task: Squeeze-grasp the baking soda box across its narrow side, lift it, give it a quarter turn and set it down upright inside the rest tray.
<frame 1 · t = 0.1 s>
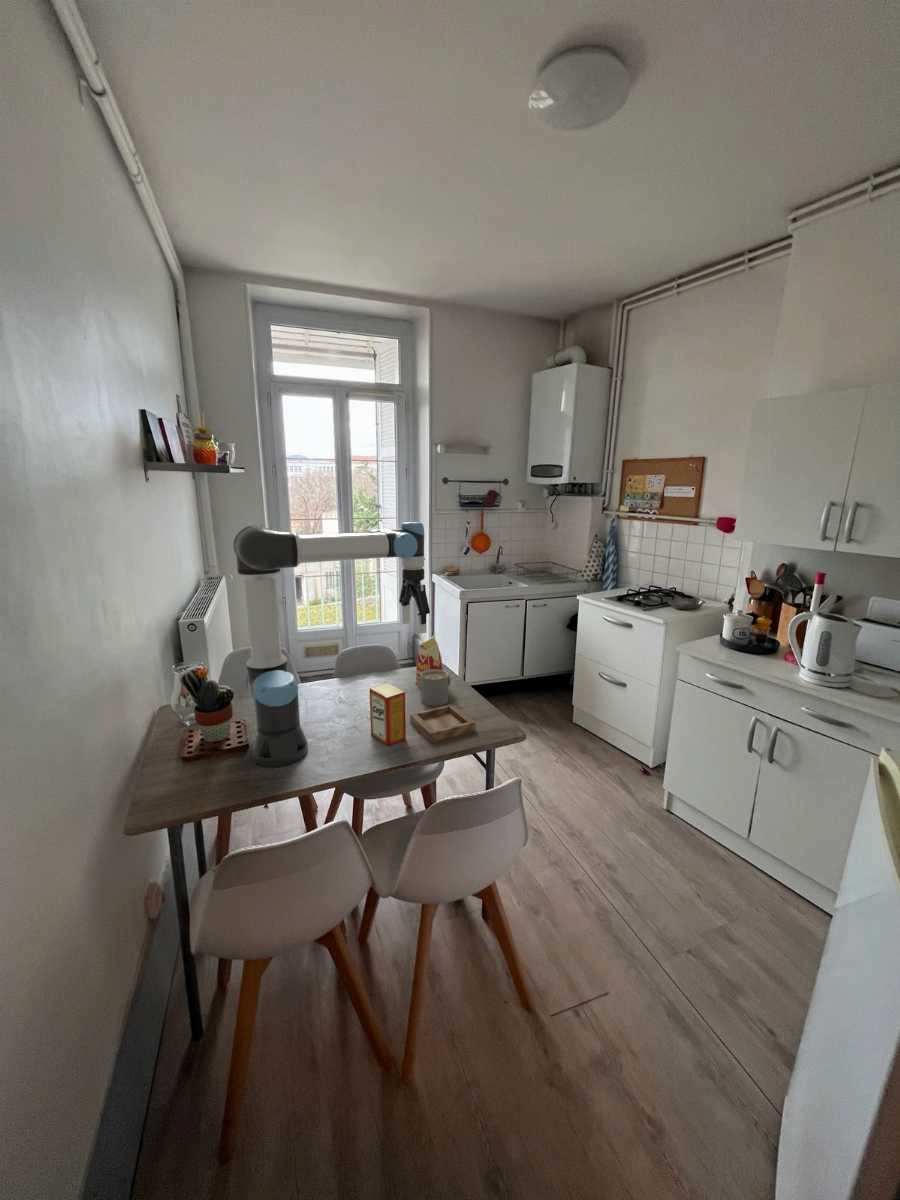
hand: (414, 628, 169), 28 cm above the table, fingers open, 13 cm apart
rest tray: (442, 726, 157), on the table
baking soda box: (388, 737, 150), on the table
coffee mug: (438, 699, 179), on the table
milk carton: (429, 685, 191), on the table
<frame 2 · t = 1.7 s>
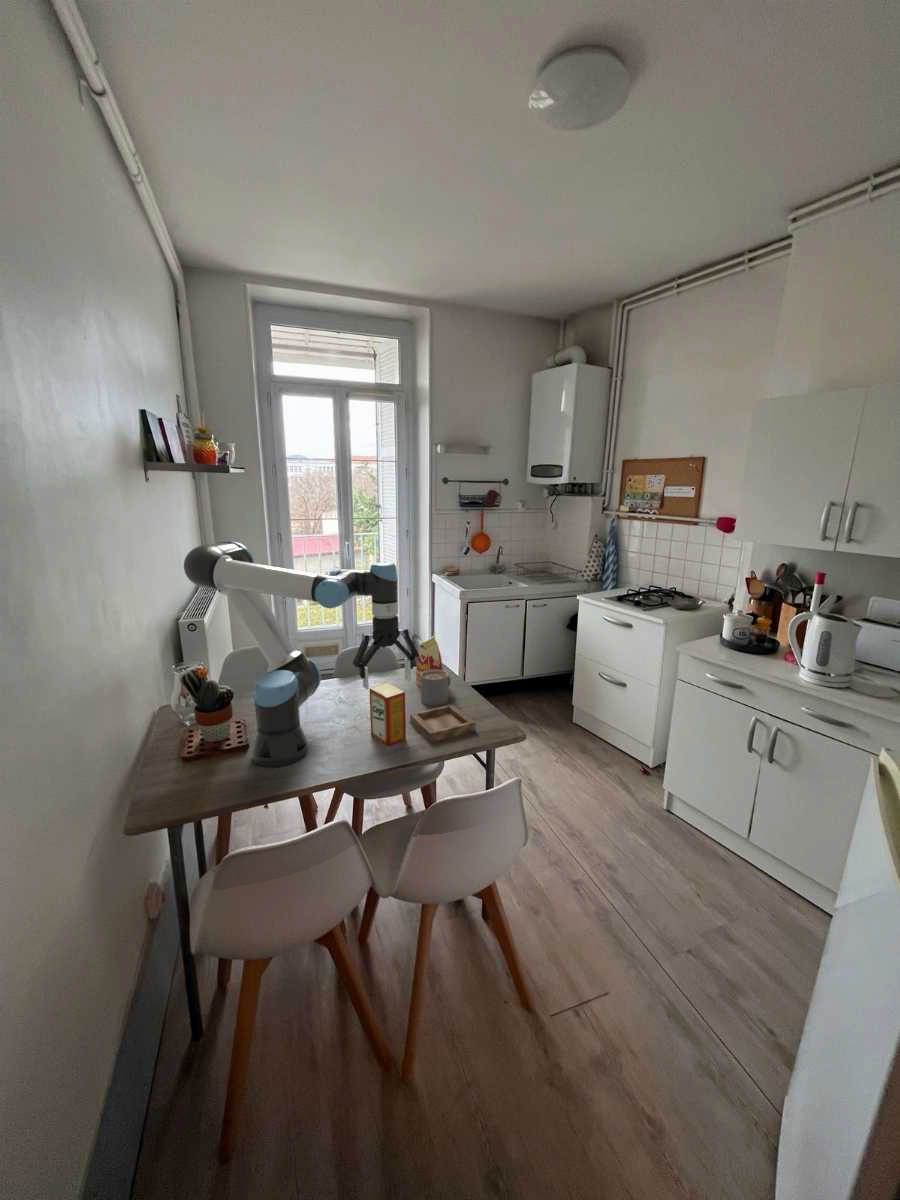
hand: (387, 683, 147), 18 cm above the table, fingers open, 13 cm apart
nothing on the table moved.
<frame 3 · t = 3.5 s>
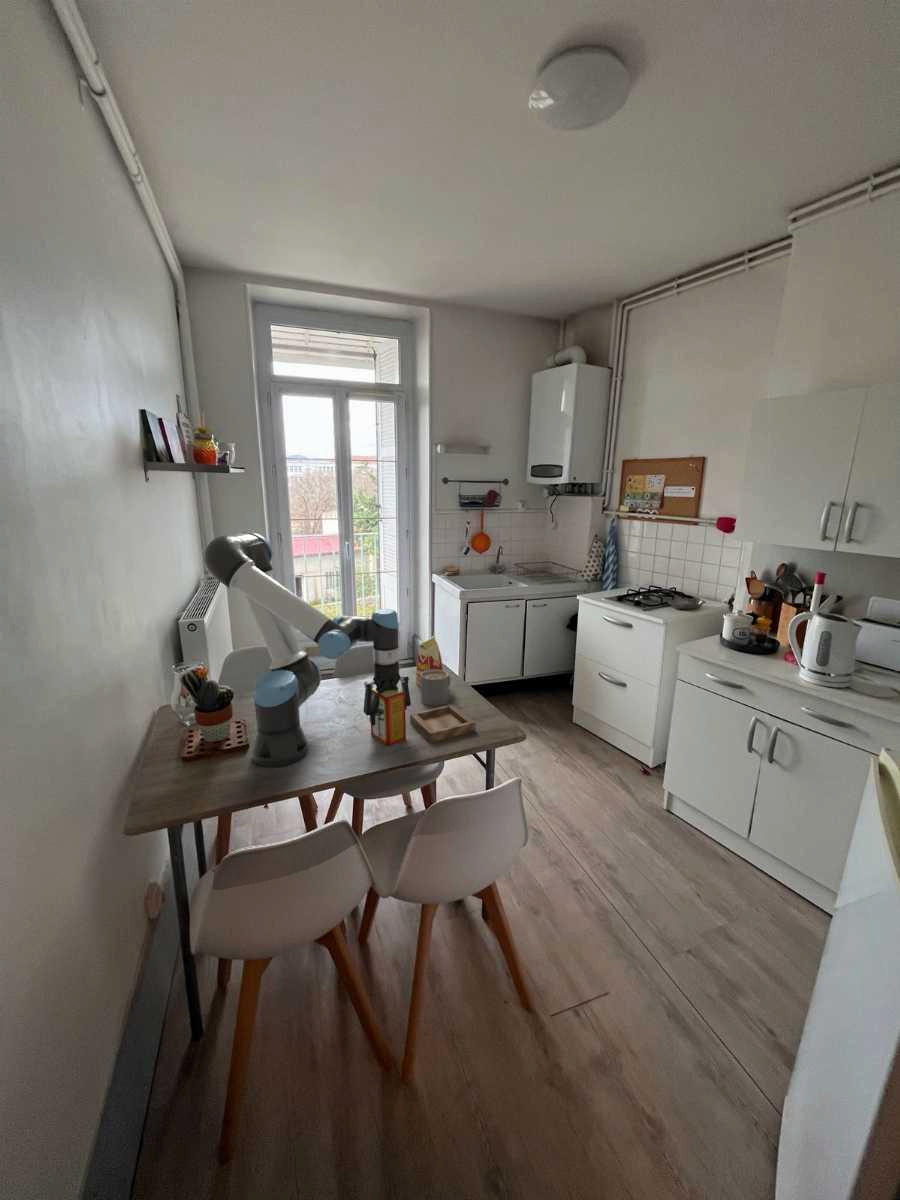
hand: (388, 730, 150), 2 cm above the table, fingers closed on baking soda box, 7 cm apart
baking soda box: (388, 737, 150), on the table, touching gripper
everything else where it was.
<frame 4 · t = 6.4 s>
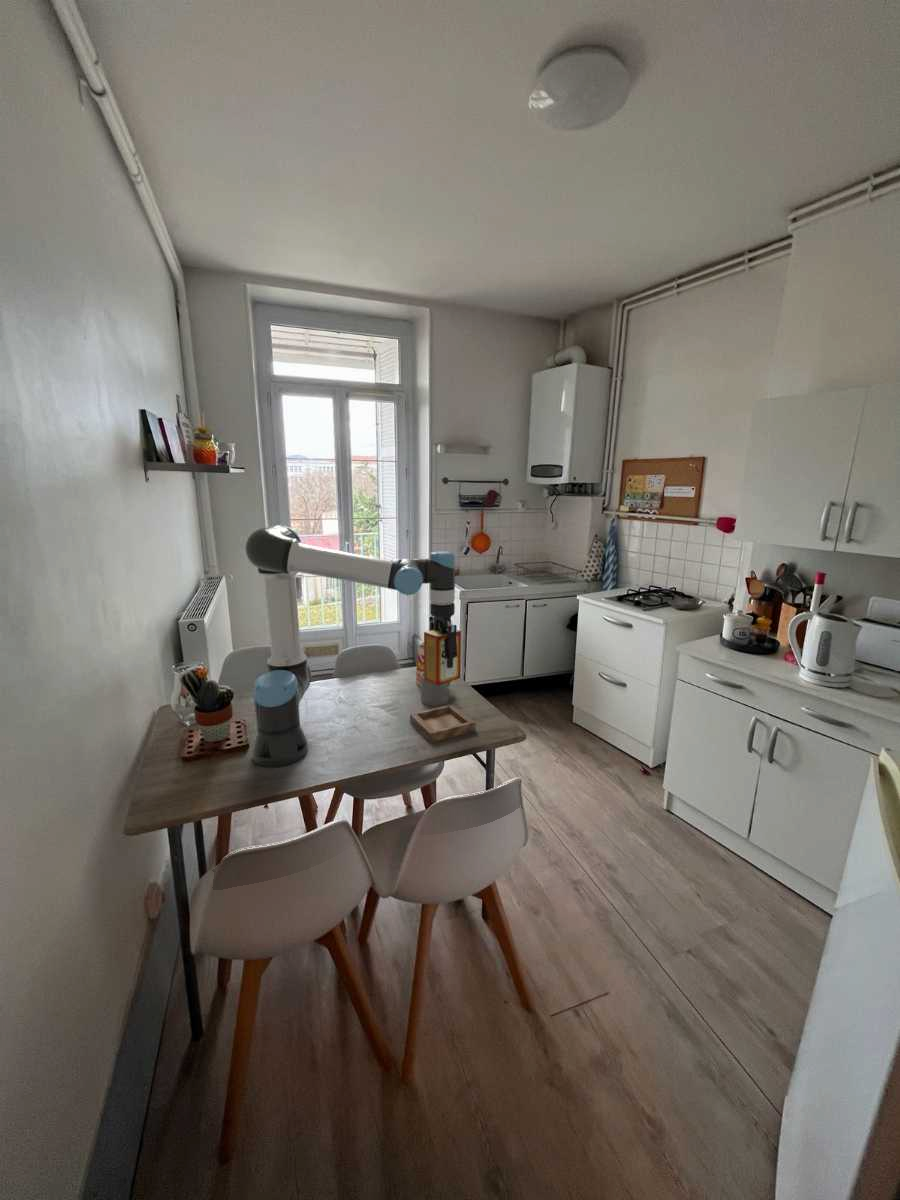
hand: (442, 672, 153), 19 cm above the table, fingers closed on baking soda box, 7 cm apart
baking soda box: (442, 679, 154), point 16 cm above the table, touching gripper
everything else where it was.
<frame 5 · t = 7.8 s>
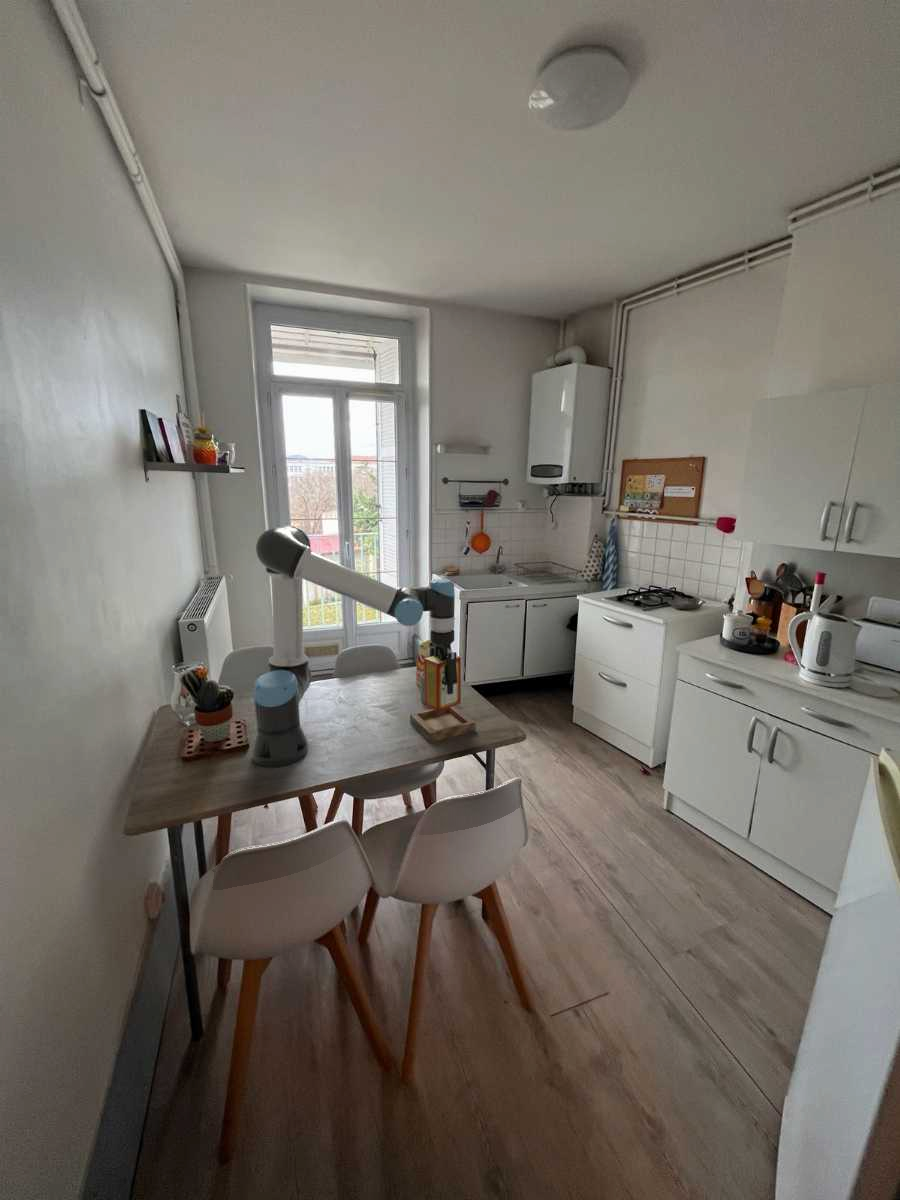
hand: (442, 697, 155), 10 cm above the table, fingers closed on baking soda box, 7 cm apart
baking soda box: (442, 704, 156), point 8 cm above the table, touching gripper
everything else where it was.
when the fingers open (5 cm above the table, at t = 9.2 s): baking soda box drops 2 cm, resting on rest tray.
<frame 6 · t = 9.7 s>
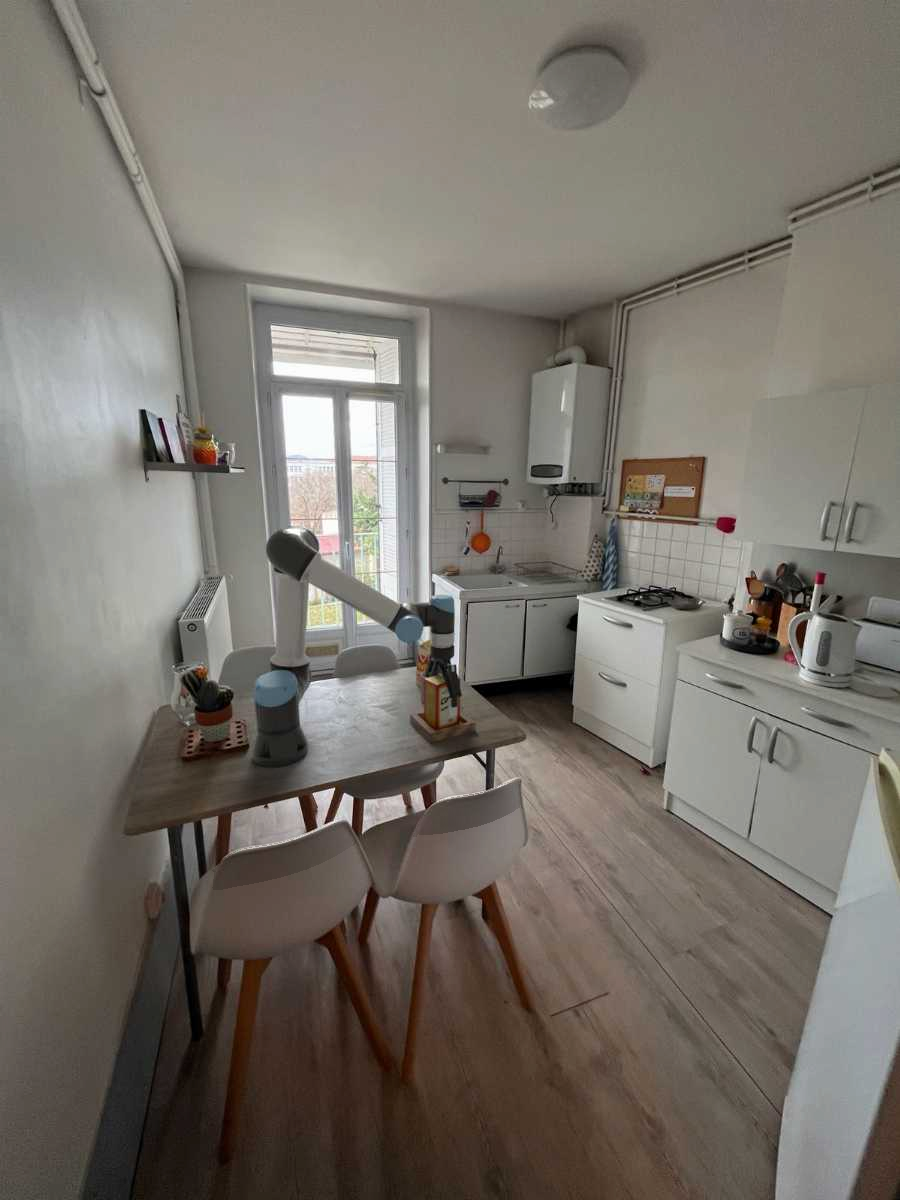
hand: (442, 707, 156), 7 cm above the table, fingers open, 13 cm apart
baking soda box: (442, 724, 157), point 1 cm above the table, touching rest tray
everything else where it was.
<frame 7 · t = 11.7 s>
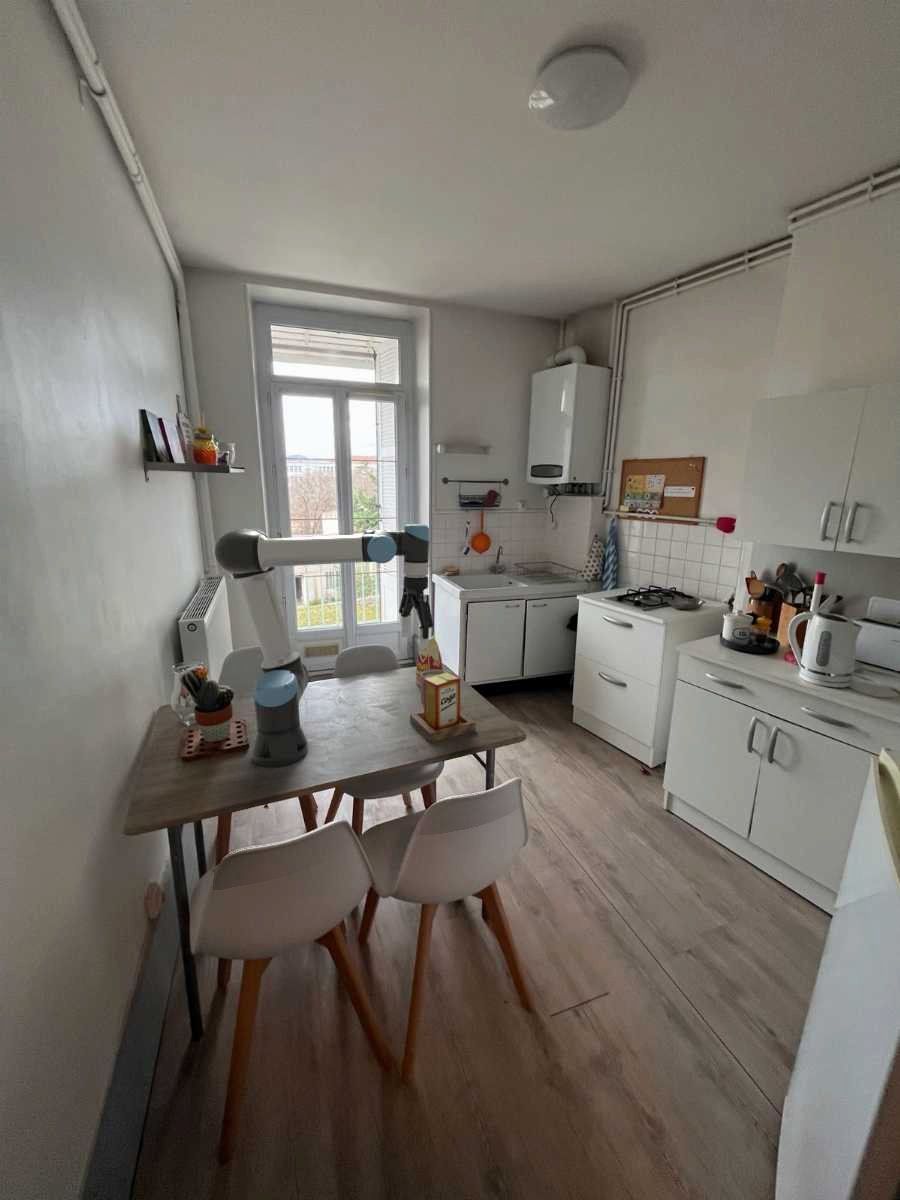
hand: (414, 642, 152), 28 cm above the table, fingers open, 13 cm apart
nothing on the table moved.
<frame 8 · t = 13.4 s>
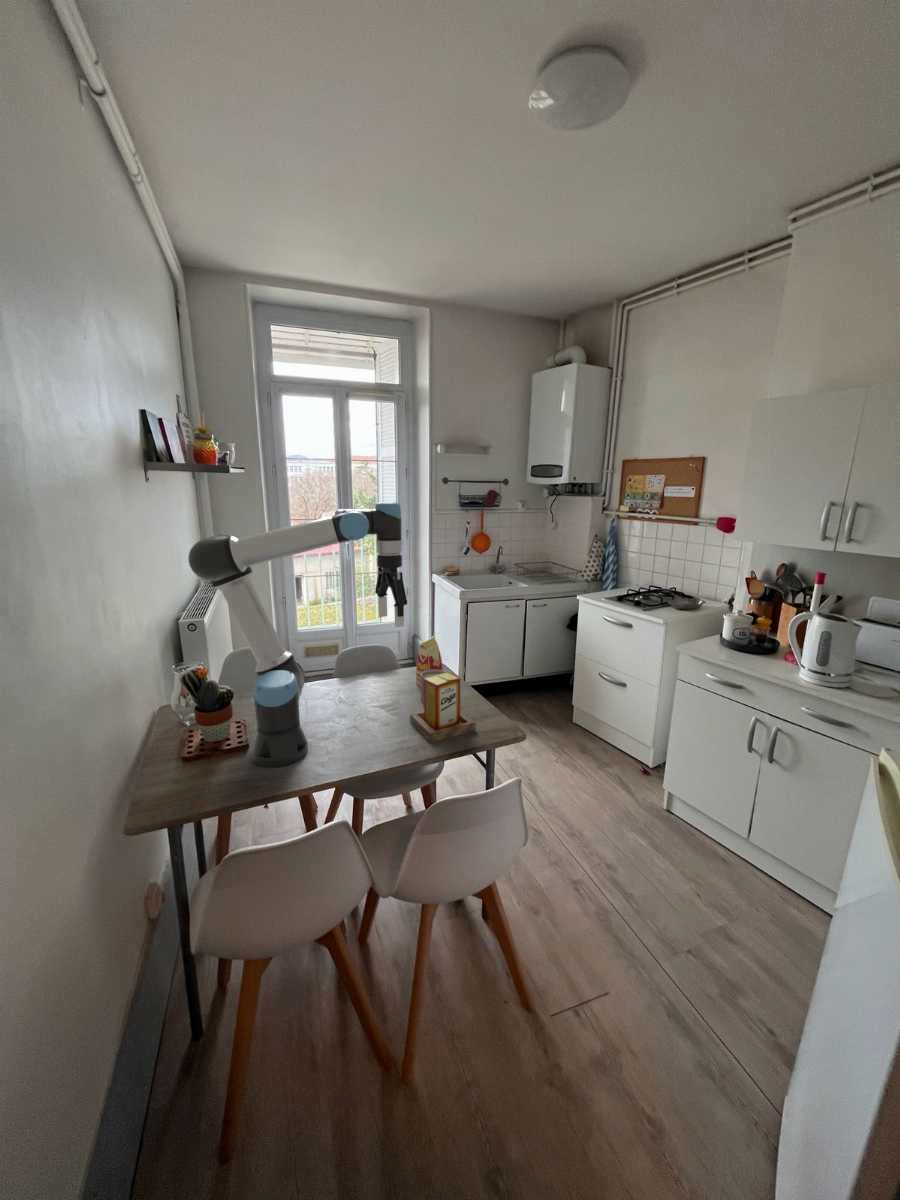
hand: (390, 621, 152), 35 cm above the table, fingers open, 13 cm apart
nothing on the table moved.
at the end: baking soda box inside the target area on the rest tray (0.0 cm from its centre), point 0.8 cm above the rest tray's base; baking soda box tilted 0°; the gripper is holding nothing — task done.
